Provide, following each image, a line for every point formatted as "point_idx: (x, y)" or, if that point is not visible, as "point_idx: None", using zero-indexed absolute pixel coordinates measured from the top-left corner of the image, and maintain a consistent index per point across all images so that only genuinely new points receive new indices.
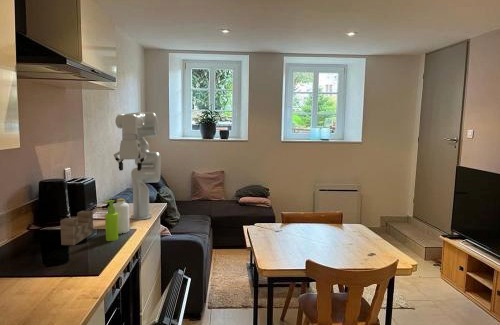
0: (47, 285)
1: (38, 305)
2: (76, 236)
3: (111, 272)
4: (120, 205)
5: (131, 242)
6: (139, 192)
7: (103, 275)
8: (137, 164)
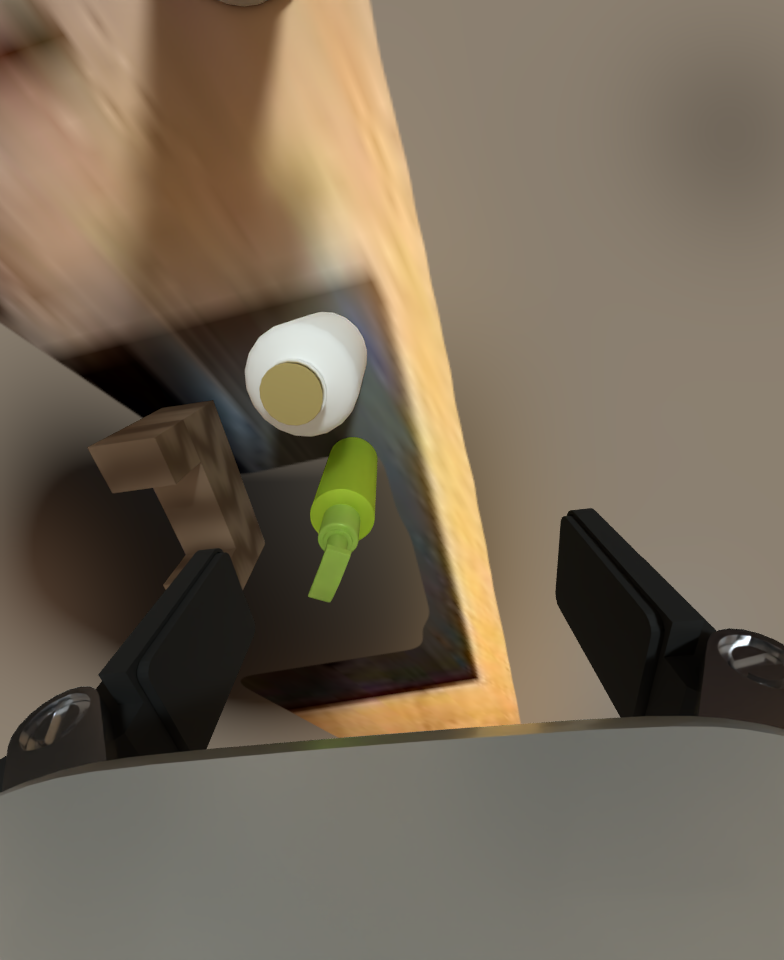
0: (404, 720)
1: None
2: (250, 540)
3: (498, 664)
4: (324, 426)
5: (449, 477)
6: None
7: (488, 677)
8: (614, 703)
